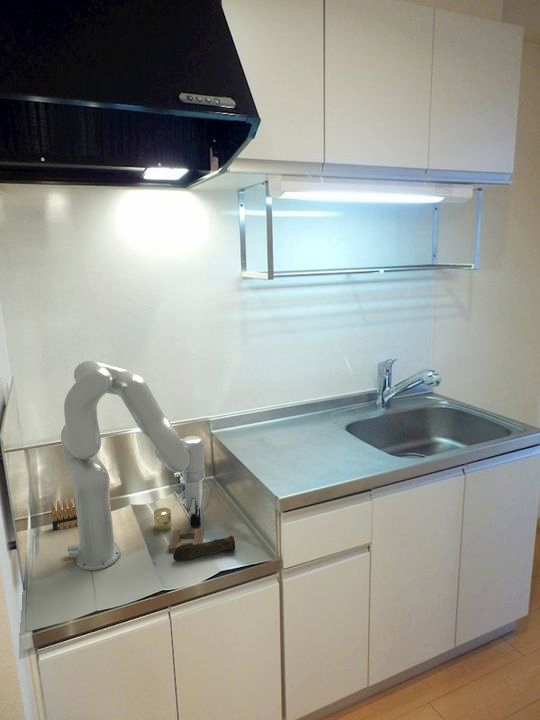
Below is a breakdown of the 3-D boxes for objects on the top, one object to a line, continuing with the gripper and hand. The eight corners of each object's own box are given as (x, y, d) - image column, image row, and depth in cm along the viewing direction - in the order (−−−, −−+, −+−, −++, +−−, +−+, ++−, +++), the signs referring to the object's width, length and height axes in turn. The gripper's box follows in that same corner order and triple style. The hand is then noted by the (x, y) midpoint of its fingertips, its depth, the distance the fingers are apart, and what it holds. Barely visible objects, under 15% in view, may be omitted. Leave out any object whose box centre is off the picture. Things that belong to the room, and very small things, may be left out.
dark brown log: (233, 544, 145) (232, 531, 144) (236, 551, 141) (235, 538, 140) (173, 556, 140) (172, 542, 139) (174, 564, 136) (173, 550, 135)
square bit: (191, 527, 156) (189, 508, 154) (192, 521, 159) (191, 503, 157) (201, 526, 156) (200, 508, 154) (201, 521, 159) (200, 502, 158)
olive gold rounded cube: (153, 534, 152) (152, 517, 150) (156, 524, 157) (155, 508, 156) (170, 533, 152) (169, 516, 151) (173, 524, 158) (171, 507, 156)
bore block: (168, 554, 141) (168, 548, 141) (173, 535, 151) (173, 529, 151) (201, 552, 142) (200, 546, 141) (203, 533, 152) (203, 528, 151)
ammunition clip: (87, 525, 158) (83, 493, 155) (87, 528, 156) (83, 496, 154) (53, 532, 154) (49, 500, 151) (53, 535, 152) (48, 503, 150)
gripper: (185, 462, 161) (188, 508, 165) (179, 485, 145) (182, 536, 149) (206, 461, 162) (209, 507, 166) (202, 484, 145) (205, 535, 149)
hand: (196, 520), depth 157 cm, fingers open, 4 cm apart
